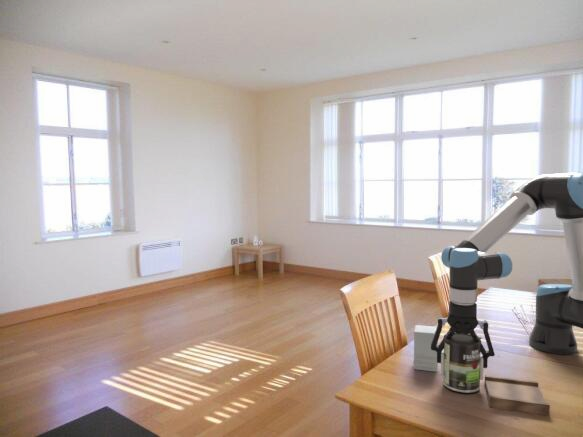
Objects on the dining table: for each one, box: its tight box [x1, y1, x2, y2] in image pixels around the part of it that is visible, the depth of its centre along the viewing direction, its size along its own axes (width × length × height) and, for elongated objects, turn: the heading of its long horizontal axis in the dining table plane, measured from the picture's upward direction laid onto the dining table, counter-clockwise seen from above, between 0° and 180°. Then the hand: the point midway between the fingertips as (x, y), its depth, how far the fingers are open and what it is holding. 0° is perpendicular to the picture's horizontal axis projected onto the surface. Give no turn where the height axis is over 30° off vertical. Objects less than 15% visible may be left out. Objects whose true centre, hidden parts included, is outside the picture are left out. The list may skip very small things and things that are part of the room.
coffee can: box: [442, 332, 482, 394], centre depth 128 cm, size 10×10×14 cm
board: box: [484, 375, 551, 416], centre depth 121 cm, size 14×14×3 cm
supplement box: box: [413, 324, 439, 372], centre depth 142 cm, size 7×7×13 cm
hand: (461, 375), depth 128 cm, fingers closed on coffee can, 10 cm apart
